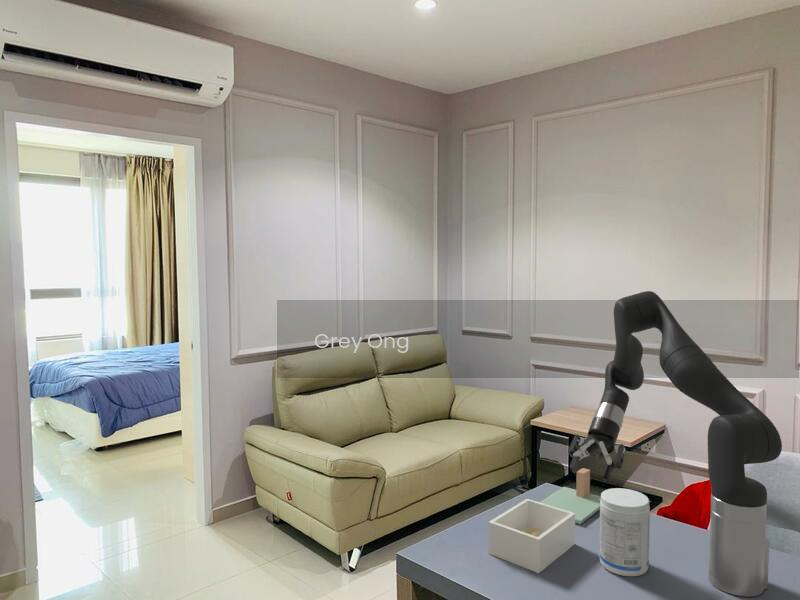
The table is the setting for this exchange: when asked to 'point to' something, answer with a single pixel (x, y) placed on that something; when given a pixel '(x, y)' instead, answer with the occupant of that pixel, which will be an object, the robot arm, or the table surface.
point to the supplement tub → (624, 531)
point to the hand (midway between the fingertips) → (588, 475)
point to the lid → (576, 498)
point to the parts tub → (532, 534)
